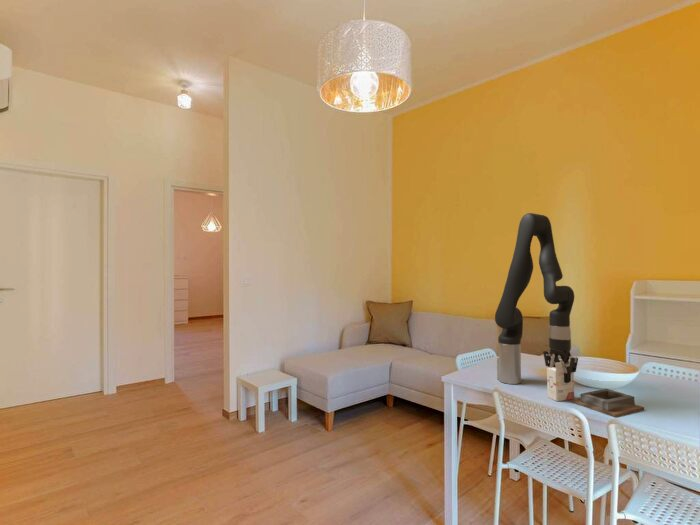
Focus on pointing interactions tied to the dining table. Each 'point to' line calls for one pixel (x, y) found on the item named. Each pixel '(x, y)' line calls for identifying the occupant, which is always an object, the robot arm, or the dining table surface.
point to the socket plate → (614, 412)
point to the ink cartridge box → (559, 384)
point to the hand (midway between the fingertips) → (560, 380)
